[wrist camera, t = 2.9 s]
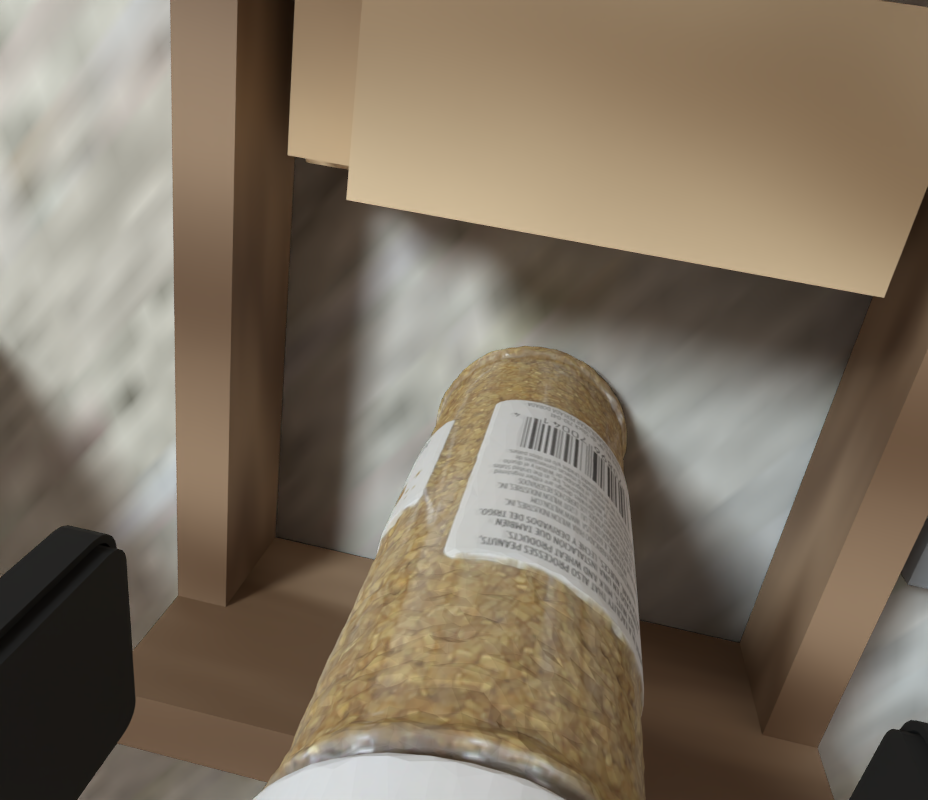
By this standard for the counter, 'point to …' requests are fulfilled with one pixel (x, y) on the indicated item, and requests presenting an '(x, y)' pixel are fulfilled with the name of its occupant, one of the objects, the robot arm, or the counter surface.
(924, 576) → the rubber mat
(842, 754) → the counter surface
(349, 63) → the offcut stack
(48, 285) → the counter surface
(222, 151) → the rack
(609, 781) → the sprinkles bottle
